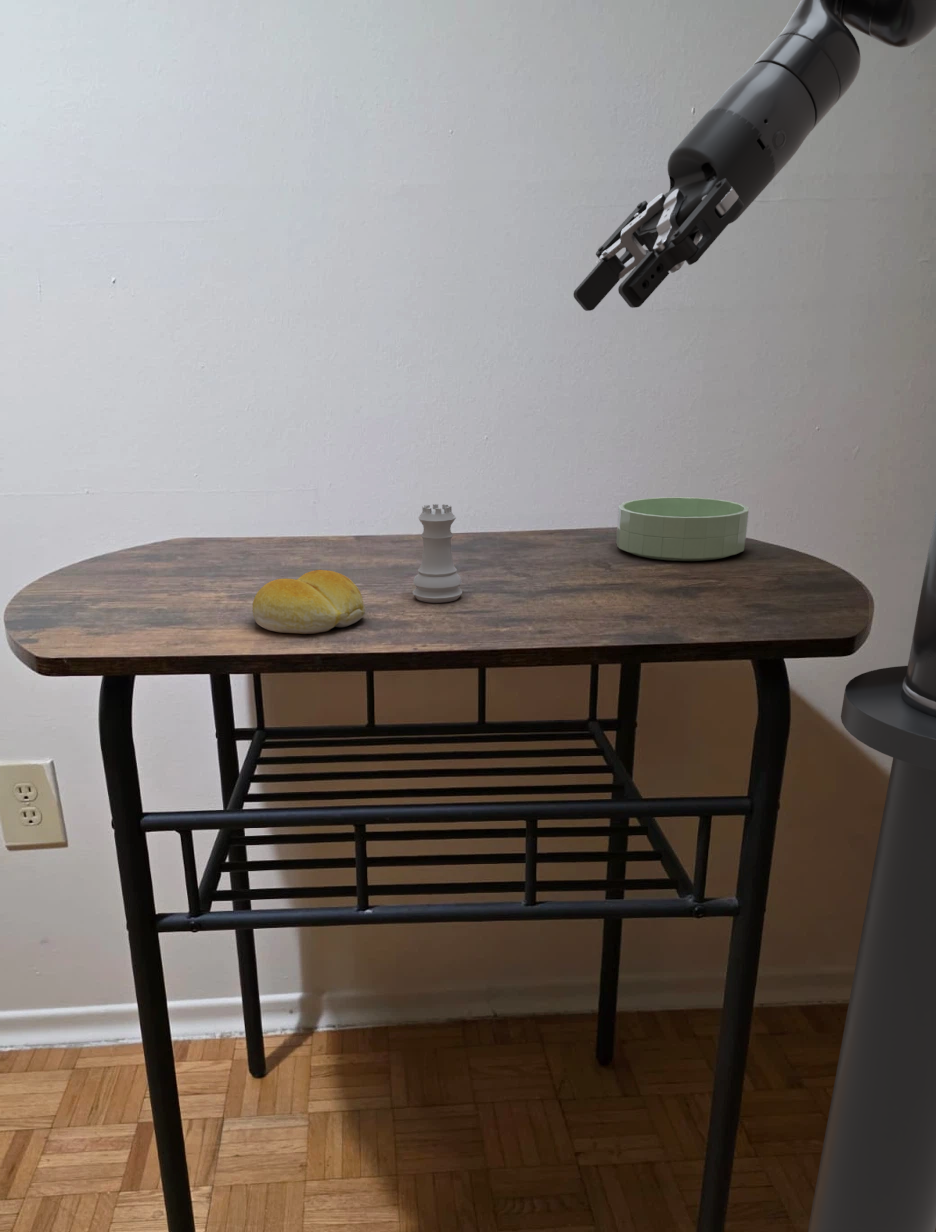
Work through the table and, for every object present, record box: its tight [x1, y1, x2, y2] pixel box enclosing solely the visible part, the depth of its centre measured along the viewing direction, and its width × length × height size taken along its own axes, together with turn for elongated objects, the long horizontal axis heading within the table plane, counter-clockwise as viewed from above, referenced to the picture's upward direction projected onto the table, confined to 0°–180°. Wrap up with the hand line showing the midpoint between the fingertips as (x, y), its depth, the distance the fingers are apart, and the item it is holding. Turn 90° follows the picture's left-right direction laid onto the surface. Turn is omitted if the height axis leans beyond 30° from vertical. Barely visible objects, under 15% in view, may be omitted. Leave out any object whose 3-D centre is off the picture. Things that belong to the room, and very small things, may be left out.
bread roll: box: [252, 569, 366, 635], centre depth 79 cm, size 8×9×4 cm
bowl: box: [615, 496, 750, 562], centre depth 102 cm, size 13×13×4 cm
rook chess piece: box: [412, 503, 463, 604], centre depth 85 cm, size 4×4×8 cm
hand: (602, 301), depth 80 cm, fingers open, 8 cm apart
